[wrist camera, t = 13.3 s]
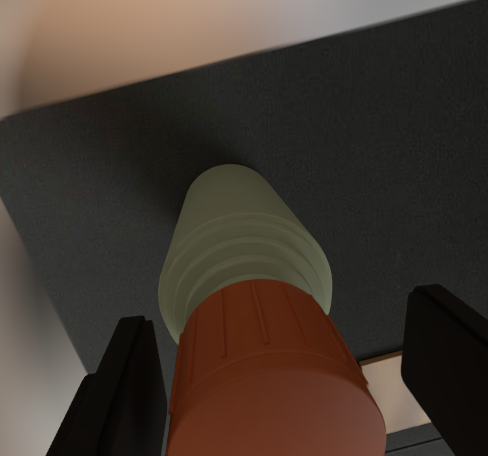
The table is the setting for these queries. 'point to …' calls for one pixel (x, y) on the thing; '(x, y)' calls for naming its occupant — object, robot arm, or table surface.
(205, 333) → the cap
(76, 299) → the table surface
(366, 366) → the coaster
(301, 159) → the table surface
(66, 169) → the table surface
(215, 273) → the sauce bottle
